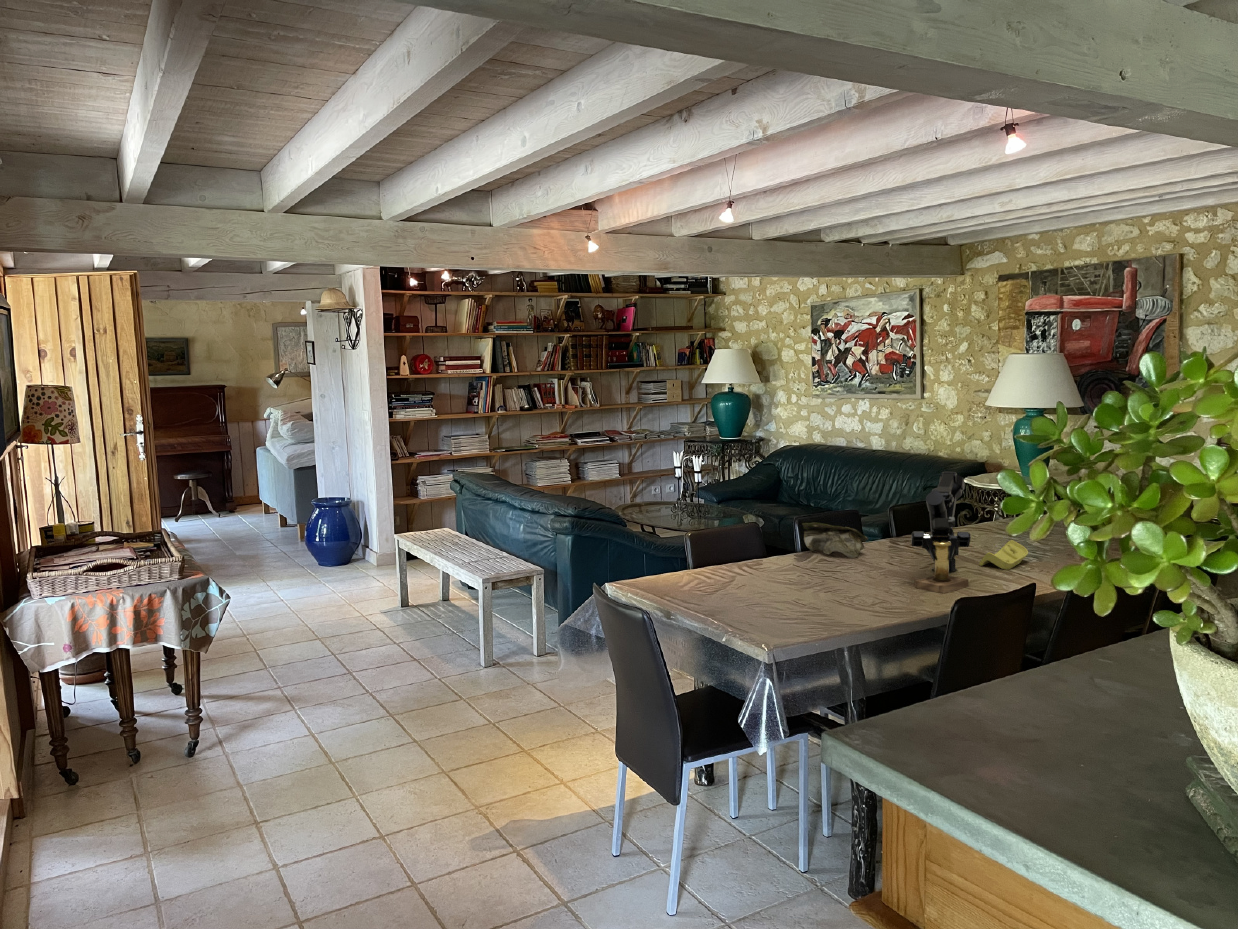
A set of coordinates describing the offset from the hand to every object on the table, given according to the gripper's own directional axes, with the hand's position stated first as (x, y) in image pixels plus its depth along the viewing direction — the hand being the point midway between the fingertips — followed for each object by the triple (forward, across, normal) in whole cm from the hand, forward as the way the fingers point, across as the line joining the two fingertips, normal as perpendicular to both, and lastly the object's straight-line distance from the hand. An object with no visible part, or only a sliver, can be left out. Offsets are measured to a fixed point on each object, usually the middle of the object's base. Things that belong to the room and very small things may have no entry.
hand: (942, 560), depth 300 cm
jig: (+6, 0, +8) cm, 10 cm away
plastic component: (-20, +26, +35) cm, 48 cm away
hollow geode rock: (-31, -36, +45) cm, 65 cm away
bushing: (+4, 0, +6) cm, 7 cm away
